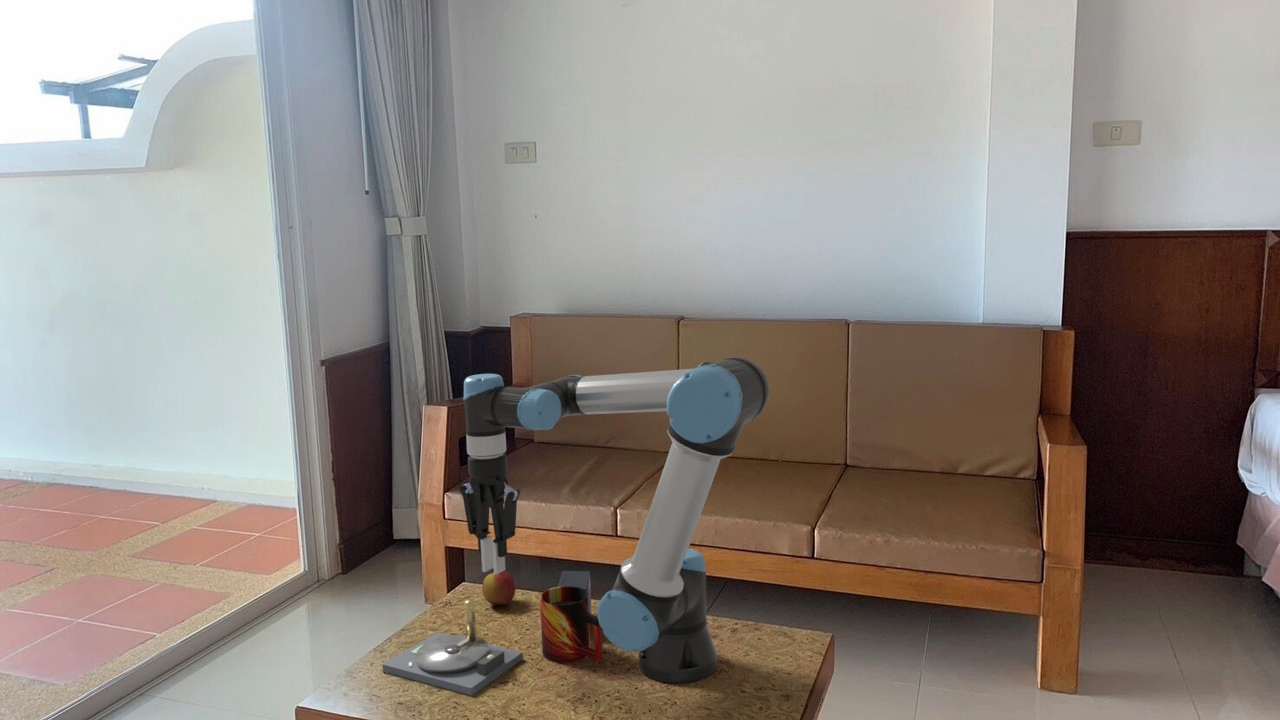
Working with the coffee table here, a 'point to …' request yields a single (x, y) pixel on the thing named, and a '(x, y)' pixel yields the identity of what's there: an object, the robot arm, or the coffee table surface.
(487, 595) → the apple
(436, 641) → the crank wheel
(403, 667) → the record turntable
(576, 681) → the coffee table surface
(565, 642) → the mug
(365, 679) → the coffee table surface
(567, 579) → the small box
